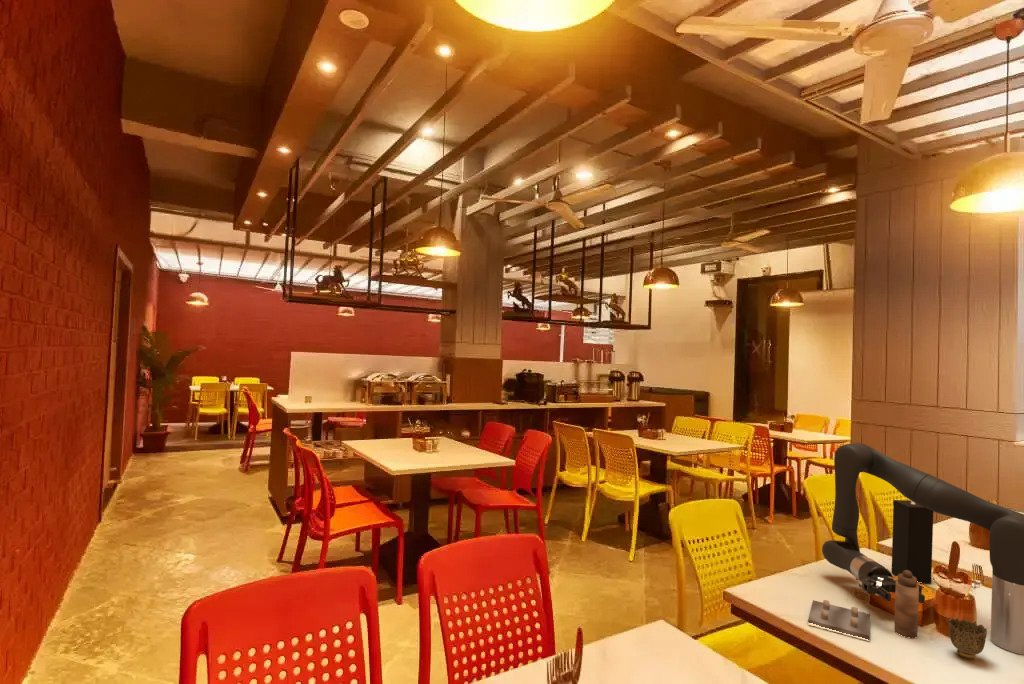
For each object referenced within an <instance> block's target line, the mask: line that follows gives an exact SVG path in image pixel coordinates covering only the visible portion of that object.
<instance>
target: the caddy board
mask: <svg viewBox="0 0 1024 684" xmlns="http://www.w3.org/2000/svg"><path fill="white" fill-rule="evenodd" d="M808 622H809V623H813V624H816V625H819V626H821V627H825V628H829V629H832V630H836V631H839V632H842V633H846V634H850V635H853V636H858V637H862V638H865V639H868V640H870V637H871V633H870V632H871V614H870V613H867V612H864V611H859V608H857V607H856V606H851V608H846V607H843V606H842V607H841V606H839V605H834V604H831V602H830V601H829V600H827V599H823V600H822V601H818V600H812V603H811V607H810V611H809V616H808V619H807V623H808Z"/></svg>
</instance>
